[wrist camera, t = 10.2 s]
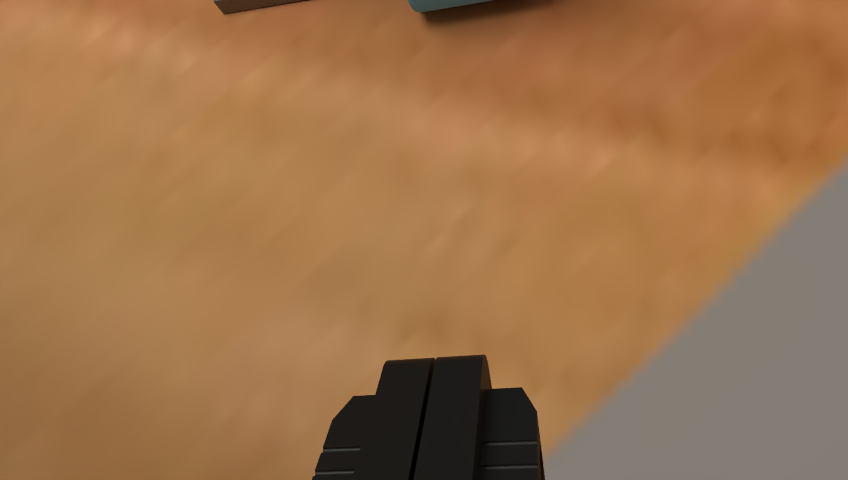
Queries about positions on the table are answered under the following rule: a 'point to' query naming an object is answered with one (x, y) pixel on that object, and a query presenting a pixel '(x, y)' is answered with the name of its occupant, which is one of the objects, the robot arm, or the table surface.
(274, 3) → the lug bracket
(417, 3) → the data package
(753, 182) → the table surface
